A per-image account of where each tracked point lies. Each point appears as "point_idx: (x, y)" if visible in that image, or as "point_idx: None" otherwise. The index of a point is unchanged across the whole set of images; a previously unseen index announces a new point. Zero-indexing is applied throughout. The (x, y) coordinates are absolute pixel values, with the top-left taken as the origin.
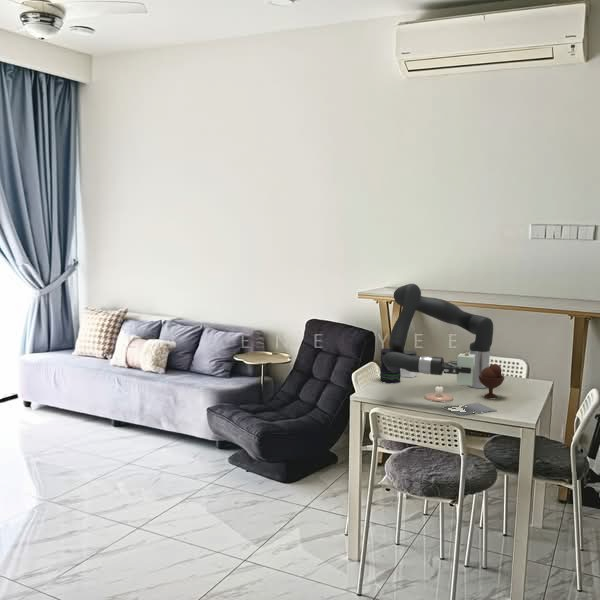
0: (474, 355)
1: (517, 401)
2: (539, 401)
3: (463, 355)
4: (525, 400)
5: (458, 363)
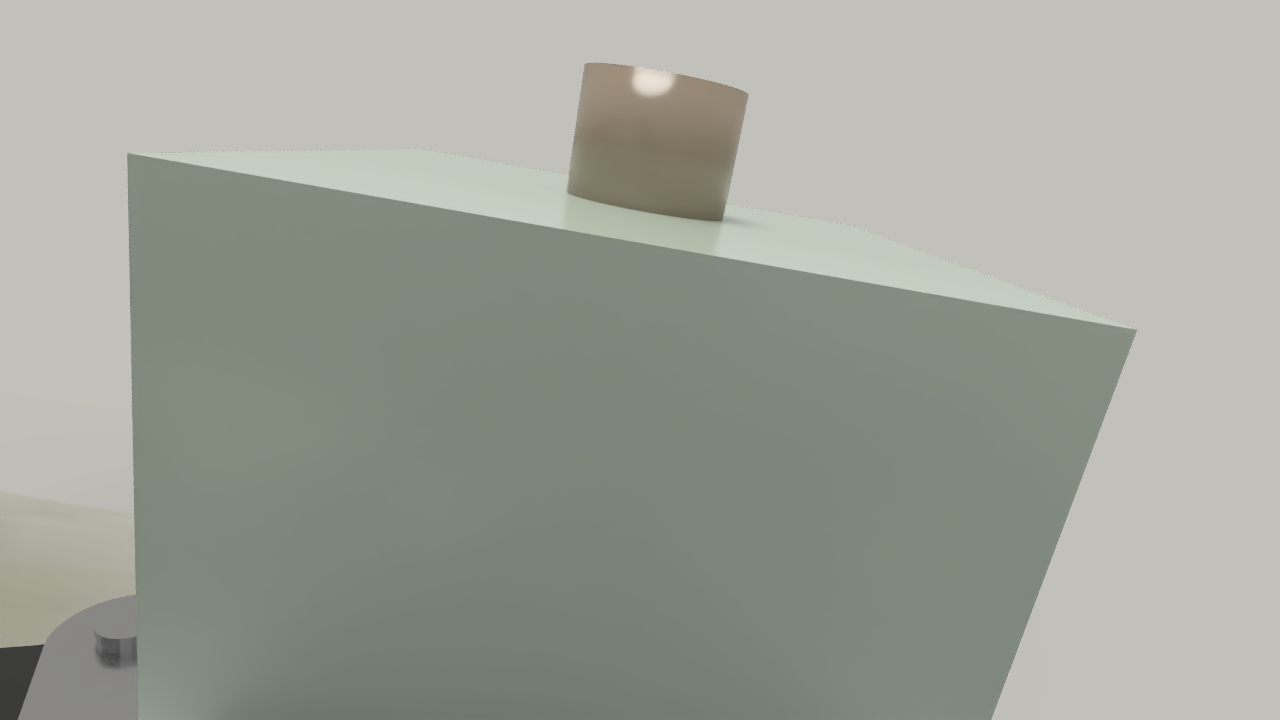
0: (553, 173)
1: (29, 624)
2: (81, 511)
3: (719, 227)
4: (11, 573)
5: (966, 671)
